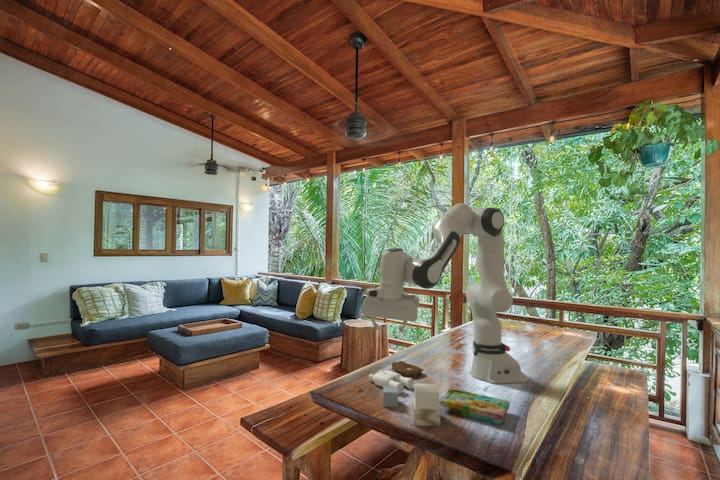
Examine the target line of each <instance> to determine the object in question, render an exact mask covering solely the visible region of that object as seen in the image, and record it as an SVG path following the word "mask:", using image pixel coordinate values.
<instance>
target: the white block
mask: <svg viewBox="0 0 720 480" xmlns="http://www.w3.org/2000/svg"><path fill="white" fill-rule="evenodd" d="M413 387H414V390H413V391H414V392H413V393H414V394H413V395H414V397H413V398H414V399H415V406H416V409H434V410H439V408H440V404H439V400H440V393H439V390H438V389H439V388H438V386H437V384H436V383H435V384H434V383H414V384H413Z"/></svg>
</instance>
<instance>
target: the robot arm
mask: <svg viewBox="0 0 720 480" xmlns="http://www.w3.org/2000/svg"><path fill="white" fill-rule="evenodd" d="M504 225H505V215H504V214H503V212H502V211H501V210H500V209H499V208H496V207H477V208H472V207H470V206H469V205H468V204H466V203H462V202H461V203H455V204H454V205H453V206H451V207H450V208H449V209H447V210H446V211H445V212H444V213H443V214H442V215H441V216H440V217H439V218H438V219H437V220H436V221H435V223H434V225H433V227H432V233H433V236H434V237H433V238H434V239H435V240H436V242H437V243H438V244H440V245H438V247H437V248H436V250H435V251H434V252H433V254H432V255H431V256H430V257H428V258H424V259H421V258H416V257H413V256H412V255H409V254H408V253H407V252H406V251H405V250H404V248H400V247H399V248H398V247H394V248H393V247H392V248H387V249H385V250H384V251H383V252H382V254H381V259H380V265H379V273H380V275H379V276H380V279H379V282H378V286H377V287H372V288H368V289H367V290H366V291H365V296H366V297H365V298H363V302H362V307H361V314H362V316H364V317H369V318H370V321H371V322H372V324H373V328H372V329H373V330H378V329H379V323H376V318H380V319H390V320H397V321H402V324H403V325H401V326H399V328H398V333H402V334H403V333H404V328H405V327H406V325H407V324H408V322H416V321H417V320H418V307H419V306H420V298H419V297H418V296H416V295H415V294H408V293H404V284H405V283H408V284H410V285H413V286H417V287H420V288H423V289H426V290H428V289H433V288H434V287H436V286H437V285H438V283H439V282H440V280H441V278H442V275H443V273H444V270H445V268H446V267H447V266H448V264H449V262H450V261H451V259H452V258H453V256H454V254H455V253H456V252H457V250H458V248H459V246H460V243H461V237H462V236H463V235H471V236H472V235H473V236H474V235H476V236H477V238H478V241H477V247H476V248H477V249H476V261H475V262H476V263H475V269H476V272H477V273H478V275H479V280H480V282H475V283H471V284H469V285H468V286H467V288H466V290H465V297H466V300H467V302H468V304H469V306H470V307H469V308H470V310H471V314H472V315H471V316H472V321H473V341H472V354H473V355H472V357H473V358H472V364H471V367H470V371H469V373H470V375H471V376H472V377H474V378H476V379H478V380H482V381H485V382H488V383H490V384H494V385H495V384H498V385H499V384H516V383H527V382H528V377H527V375H526V374H525V373H524V372H523V371H522V369H521V365H520V363H519V362H518V361H517V359H515V358H514V357H513V356H512V355H510V354H509V353H508V352H510V351H511V347H510V346H508V345H506V344H505V343H503V342H502V324H501V321H500V320H499V317H498V316H497V315H498V314H497V313H506V312H508V311H510V309H511V308H512V306H513V304H514V303H513V302H514V298H513V295H512V293H511V292H510V291H509V289H508V287H507V282H506V278H505V272H504V270H505V269H504V262H505V238H504V231H503V229H504Z"/></svg>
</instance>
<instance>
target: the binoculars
mask: <svg viewBox="0 0 720 480" xmlns="http://www.w3.org/2000/svg"><path fill="white" fill-rule="evenodd" d="M368 379H369V380H370V381H373V383H374V384H375V385H376V386H378V387H380V388H383V386H392V387H397V388H398V395H400V394H401V393H403V391H404V387H405V388H407V389H408V390H409V389H410V390H411V389H413V387H414V384H415V383H414V378H406V377H405V376H403V374H401V373H400V374H399V373H398V372H396V371H395V372H394V371H393V370H388V369H386V370H381V369H380V370H378V371H377V372H376V373H375V374H373V373H370V374H369V375H368Z"/></svg>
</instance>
